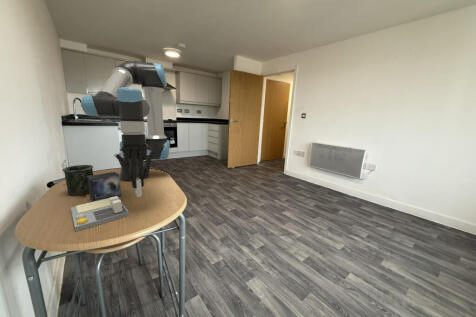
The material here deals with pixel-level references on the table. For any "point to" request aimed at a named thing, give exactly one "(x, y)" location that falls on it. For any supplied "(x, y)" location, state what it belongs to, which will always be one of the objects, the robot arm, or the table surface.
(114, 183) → the small box
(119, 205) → the toggle
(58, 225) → the table surface
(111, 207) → the toggle
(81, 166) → the mug
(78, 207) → the breaker panel
